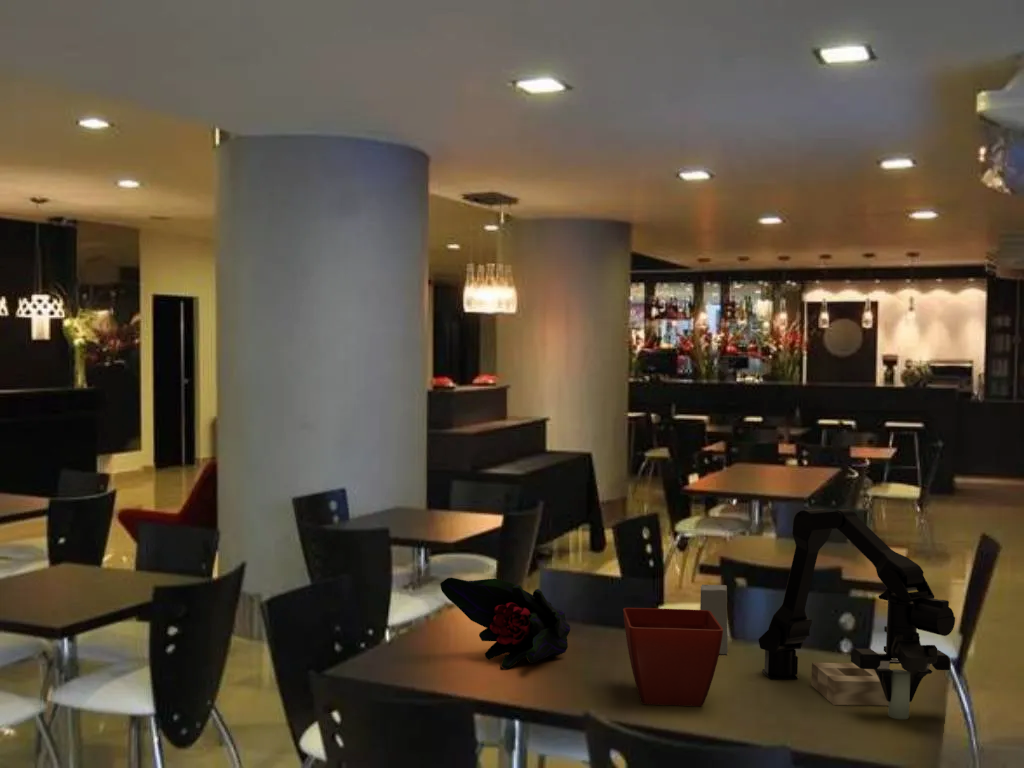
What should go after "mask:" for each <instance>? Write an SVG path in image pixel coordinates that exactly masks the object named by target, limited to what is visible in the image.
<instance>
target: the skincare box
mask: <svg viewBox="0 0 1024 768" xmlns="http://www.w3.org/2000/svg"><path fill="white" fill-rule="evenodd" d="M727 586H728V585H725V584H701V586H700V603H699V604H700V605H699V606H700V607H699V610H708V611H711V613H712V614H713V616H714V617H715V619H716V620H717V621H718V623H719V624H720V626H721V627H722V628H723V635H722V641H721V647H720V652H719V655H728V651H729V649H728V647H729V646H728V642H729V641H728V637H729V636H728V590H727V589H728V587H727Z"/></svg>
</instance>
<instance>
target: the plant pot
mask: <svg viewBox="0 0 1024 768" xmlns="http://www.w3.org/2000/svg"><path fill="white" fill-rule="evenodd" d="M622 611H623V621H624V630H625V637H626V644H627V645H626V646H627V650H628V656H629V661H630V666H631V670H632V675H633V680H634V683H635V686H636V689H637V693H638V697H639V699H640V700H639V701H640V703H641V704H643V705H657V706H658V705H659V706H660V705H661V706H685V707H686V706H687V707H702V706H703V705H704V704H705V702H706V699H707V696H708V694H709V691H710V689H711V686H712V683H713V679H714V676H715V672H716V668H717V664H718V661H719V655H720V654H719V652H720V647H721V641H722V635H723V628H722V627H721V626H720V624H719V623H718V621H717V620H716V619H715V617H714V616H713V614H712V613H711V611H708V610H700V609H690V608H689V609H688V608H687V609H686V608H684V609H683V608H661V607H660V608H657V607H656V608H654V607H624V608H623V609H622Z"/></svg>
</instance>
